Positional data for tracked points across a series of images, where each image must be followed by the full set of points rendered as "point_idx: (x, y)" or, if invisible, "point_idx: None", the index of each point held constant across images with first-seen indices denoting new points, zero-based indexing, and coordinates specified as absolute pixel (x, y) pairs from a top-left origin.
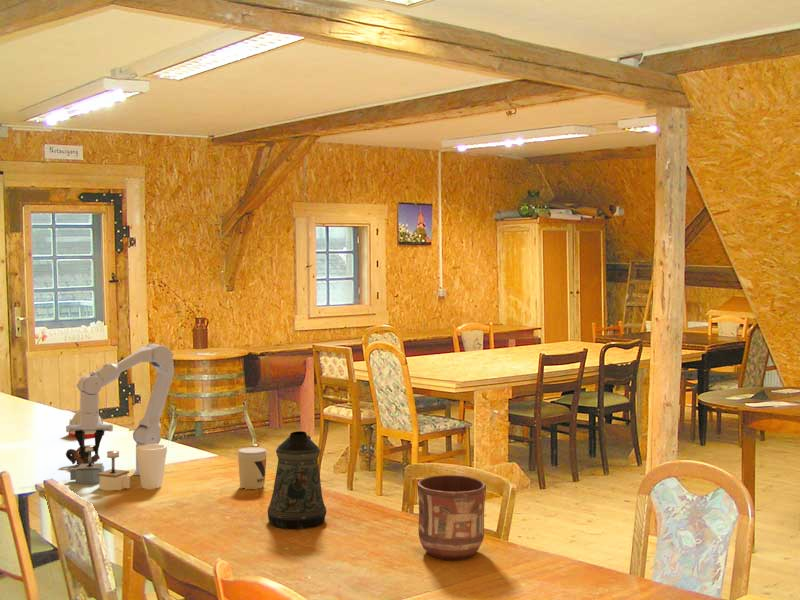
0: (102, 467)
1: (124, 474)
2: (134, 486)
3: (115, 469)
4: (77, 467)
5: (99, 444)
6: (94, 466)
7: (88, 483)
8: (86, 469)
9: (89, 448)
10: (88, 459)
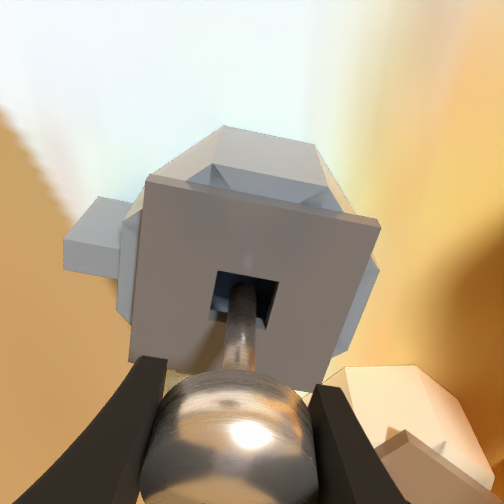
0: (356, 313)
1: None
2: (494, 426)
3: (433, 460)
4: (124, 249)
5: (390, 480)
6: (284, 334)
7: None
8: (213, 368)
9: None
10: (224, 349)
